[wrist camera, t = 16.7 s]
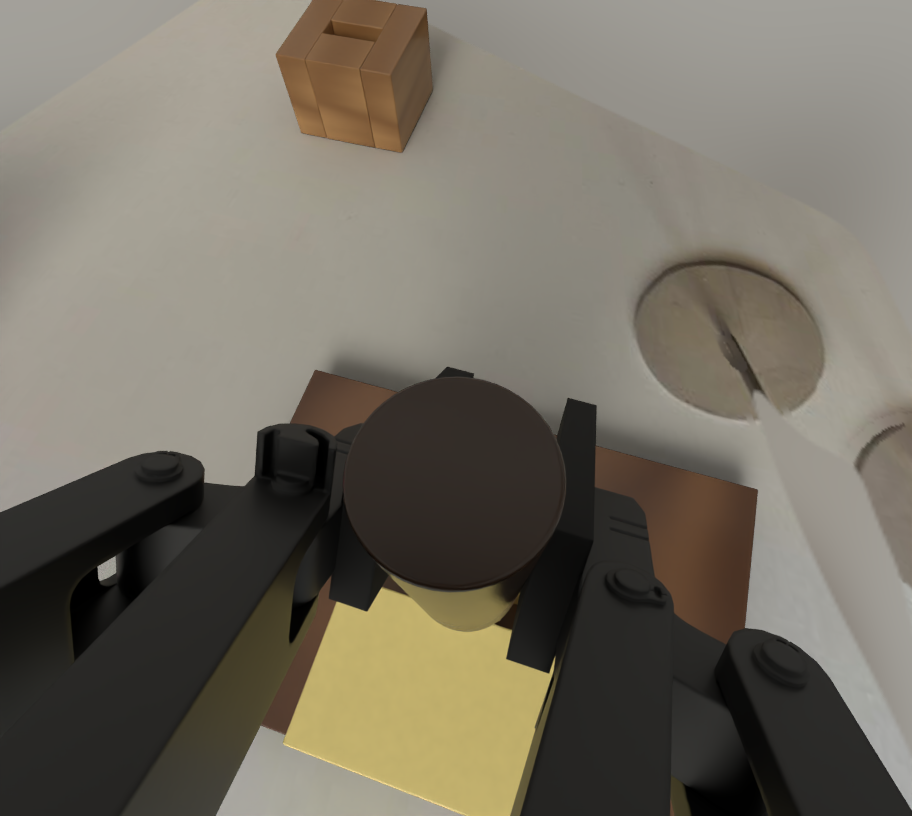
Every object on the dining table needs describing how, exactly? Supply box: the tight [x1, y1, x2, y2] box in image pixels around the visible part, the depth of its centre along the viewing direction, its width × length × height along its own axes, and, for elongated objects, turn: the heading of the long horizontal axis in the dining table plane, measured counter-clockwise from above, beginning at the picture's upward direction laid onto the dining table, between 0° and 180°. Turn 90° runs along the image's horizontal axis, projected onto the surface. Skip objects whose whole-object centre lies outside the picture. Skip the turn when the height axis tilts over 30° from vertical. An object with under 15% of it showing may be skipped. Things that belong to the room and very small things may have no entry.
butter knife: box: [343, 377, 566, 632], centre depth 14 cm, size 3×3×16 cm
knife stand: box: [276, 0, 433, 152], centre depth 33 cm, size 7×6×5 cm
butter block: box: [283, 587, 555, 816], centre depth 18 cm, size 8×5×4 cm, turn 73°
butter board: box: [261, 370, 758, 816], centre depth 22 cm, size 20×14×2 cm
